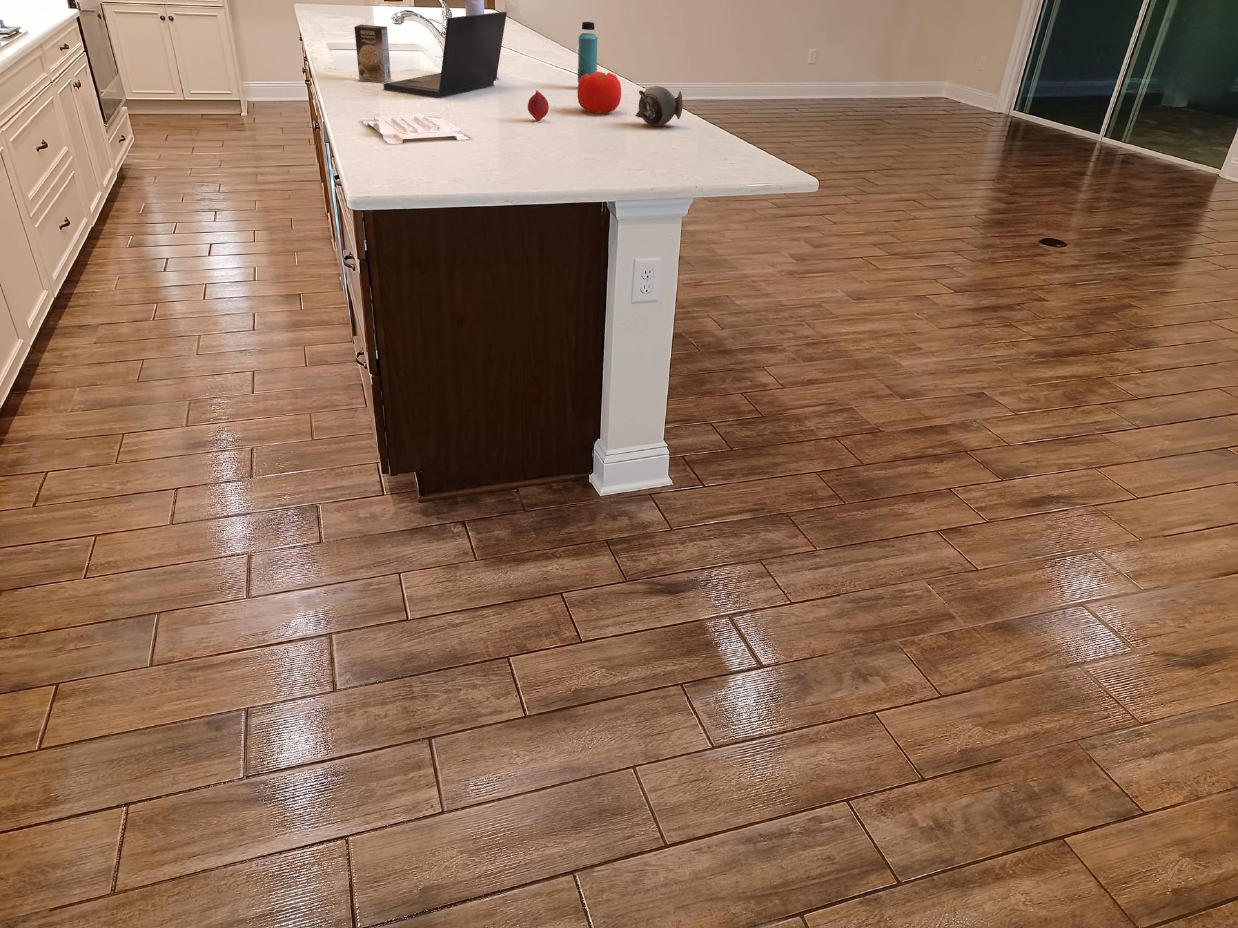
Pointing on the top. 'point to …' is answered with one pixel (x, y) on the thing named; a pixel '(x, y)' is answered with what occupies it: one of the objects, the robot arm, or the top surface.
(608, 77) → the tomato
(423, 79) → the laptop
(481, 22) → the laptop screen
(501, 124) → the top surface
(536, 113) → the onion
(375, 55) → the coffee box
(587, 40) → the beverage bottle
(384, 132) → the tray
